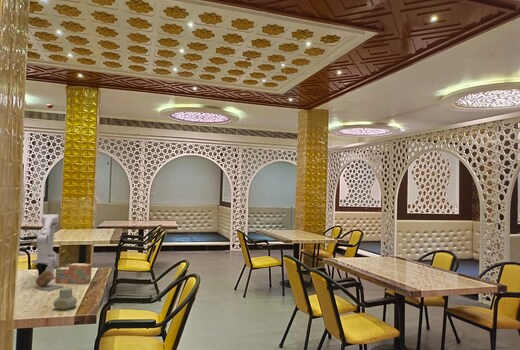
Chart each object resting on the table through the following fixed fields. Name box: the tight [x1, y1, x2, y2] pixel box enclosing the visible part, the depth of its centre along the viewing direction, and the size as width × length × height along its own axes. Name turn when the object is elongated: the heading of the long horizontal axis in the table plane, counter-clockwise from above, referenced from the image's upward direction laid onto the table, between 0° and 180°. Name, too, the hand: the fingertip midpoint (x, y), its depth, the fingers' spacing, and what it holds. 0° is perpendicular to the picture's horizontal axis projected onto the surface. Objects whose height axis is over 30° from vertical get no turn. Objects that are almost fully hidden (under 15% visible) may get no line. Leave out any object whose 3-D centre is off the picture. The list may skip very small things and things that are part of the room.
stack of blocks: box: [54, 262, 93, 285], centre depth 247 cm, size 21×6×12 cm, turn 84°
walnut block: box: [35, 271, 55, 288], centre depth 234 cm, size 5×5×9 cm
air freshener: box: [53, 287, 78, 311], centre depth 194 cm, size 11×8×10 cm
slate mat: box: [35, 283, 64, 292], centre depth 232 cm, size 11×10×1 cm
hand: (41, 275), depth 235 cm, fingers closed
